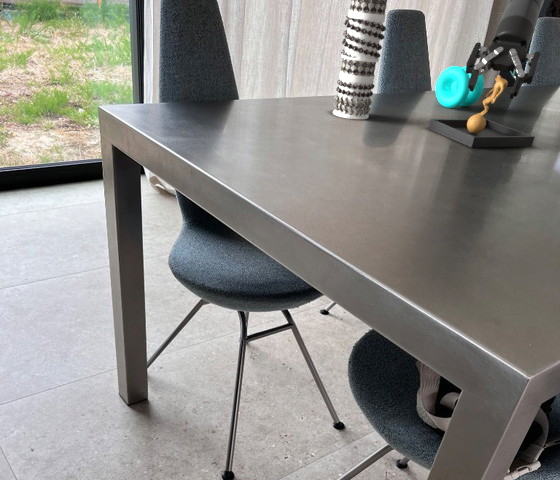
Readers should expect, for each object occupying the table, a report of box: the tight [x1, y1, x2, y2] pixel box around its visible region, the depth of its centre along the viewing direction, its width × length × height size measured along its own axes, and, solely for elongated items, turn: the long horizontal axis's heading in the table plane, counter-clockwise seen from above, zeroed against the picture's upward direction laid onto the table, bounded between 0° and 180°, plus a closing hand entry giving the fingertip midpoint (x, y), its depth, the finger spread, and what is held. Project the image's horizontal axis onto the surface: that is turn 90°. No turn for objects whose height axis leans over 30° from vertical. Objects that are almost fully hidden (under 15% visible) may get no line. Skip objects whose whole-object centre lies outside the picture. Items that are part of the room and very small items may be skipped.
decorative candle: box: [332, 0, 388, 120], centre depth 125 cm, size 9×9×25 cm
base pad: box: [427, 118, 536, 149], centre depth 126 cm, size 17×15×2 cm
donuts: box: [434, 65, 485, 109], centre depth 153 cm, size 10×10×10 cm
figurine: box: [467, 74, 509, 134], centre depth 123 cm, size 8×6×12 cm
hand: (491, 92), depth 120 cm, fingers open, 8 cm apart
